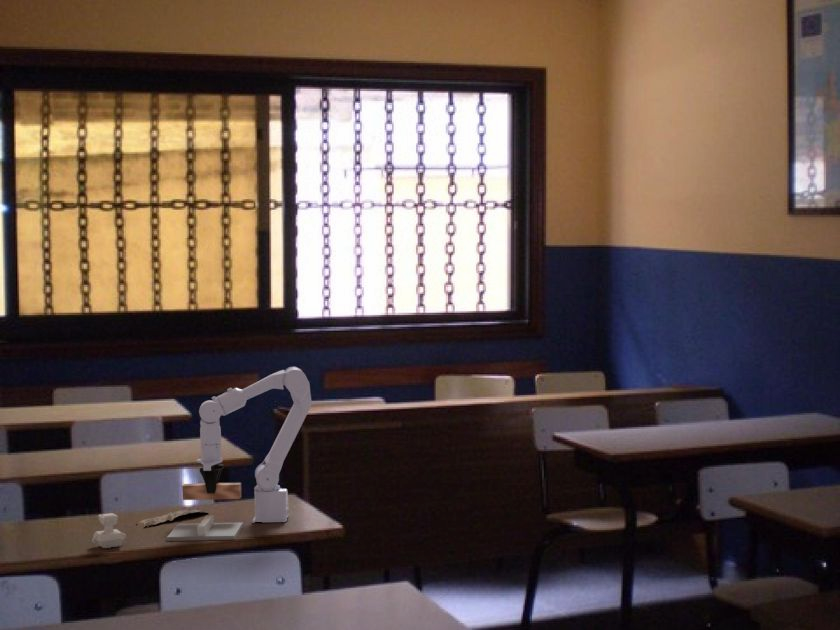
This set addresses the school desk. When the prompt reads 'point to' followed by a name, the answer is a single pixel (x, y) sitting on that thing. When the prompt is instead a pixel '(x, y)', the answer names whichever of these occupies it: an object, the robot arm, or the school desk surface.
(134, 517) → the school desk surface
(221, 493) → the stick
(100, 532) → the stamp
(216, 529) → the board
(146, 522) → the stone fragment
